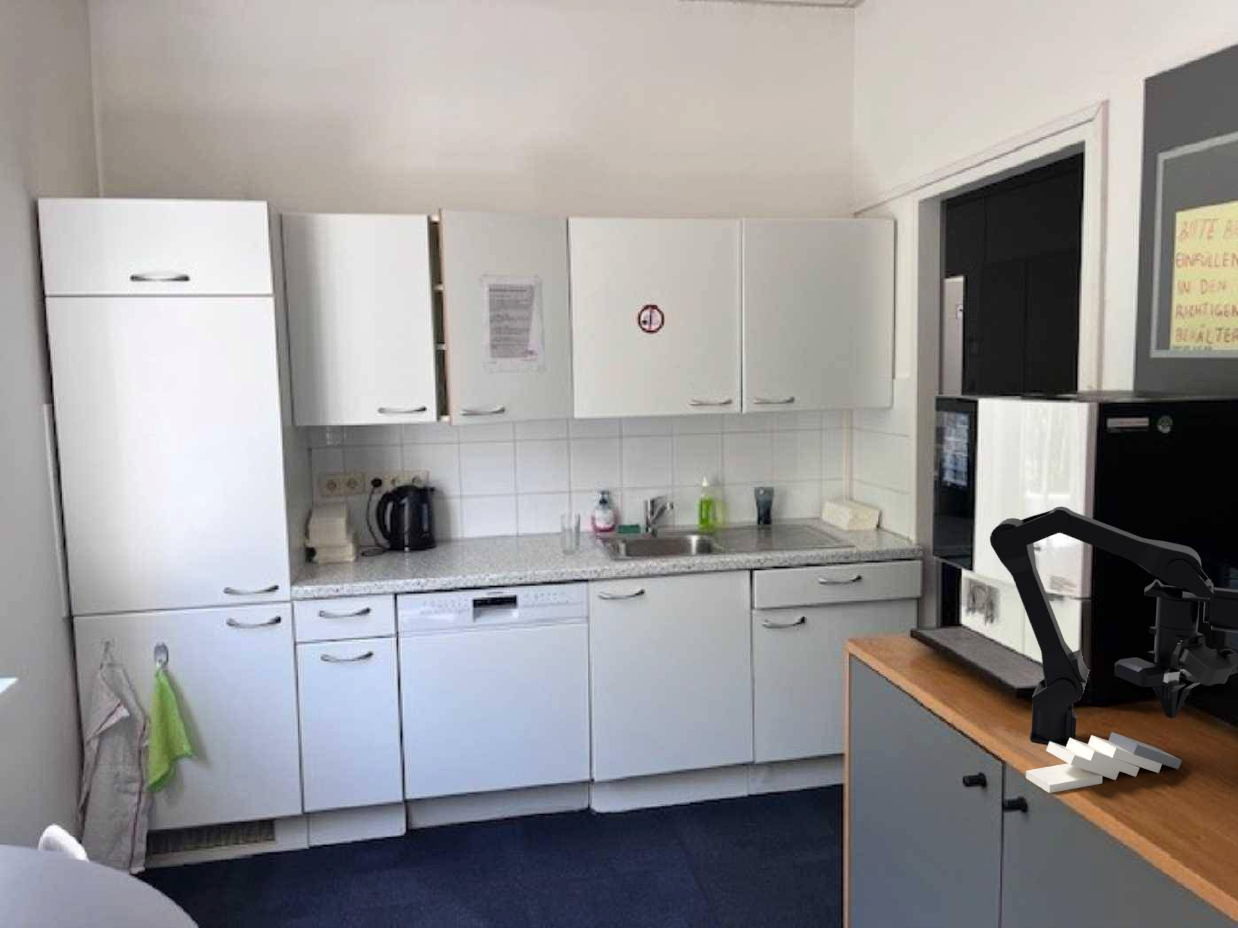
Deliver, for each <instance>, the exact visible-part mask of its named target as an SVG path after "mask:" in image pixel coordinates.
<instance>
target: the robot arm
mask: <svg viewBox="0 0 1238 928" xmlns="http://www.w3.org/2000/svg"><path fill="white" fill-rule="evenodd" d="M990 533H991V534H990V536H989V541H990V542H989V543H990V546H991V548H992V549H993V551H994V553H995V554H996V556H997V558H998V559H999V561H1000V562H1001V564H1002V565H1003V566H1004V568H1006V570H1007V571H1008V572H1009V573H1010V576H1011V577H1012V579H1013V581H1014V584H1015V587H1016V590H1017V593H1018V594H1019V598H1020V600H1021V602H1022V606H1023V608H1024V610H1025V614H1026V615H1027V618H1028V621H1029V624H1030V626H1031V629H1032V632H1033V633H1034V637H1035V639H1036V642H1037V644H1038V647H1039V650H1040V654H1041V662H1042V673H1043V677H1044V678H1042V680H1040V681H1039V682H1038V683H1037V685H1036V688H1035V690H1034V692H1033V694H1032V695H1031V696H1032V697H1031V702H1032V705H1031V729H1030V733H1029V734H1030V735H1029V741H1031V742H1035V743H1041V744H1045V745H1046V744H1047V745H1048V744H1049V742H1053V743H1056V744H1059V745H1062V746H1064V747H1066V745H1067V743H1068V741H1069V738H1072V739H1075V740H1076V735H1077V713H1076V712H1074V703H1077V702H1078V701H1079V700H1080V699H1081V697H1082V695H1083V693H1084V690H1085V686H1086V683H1087V677H1088V674H1089V671H1090V670H1089V669H1088V668H1087V667H1086V665H1085V663H1084V661H1083V656H1082V650H1081V649H1077V650H1075V651H1073V650H1072V649H1071V648H1070V646H1069V645H1068V644H1067V643H1066V640H1065V638H1064V637H1063V634H1062V631H1061V628H1060V626H1059V623H1058V621H1057V618H1056V615H1055V612H1054V610H1053V607H1052V605H1051V602H1050V599H1049V597H1048V594H1047V592H1046V590H1045V587H1044V584H1043V582H1042V579H1041V576H1040V574H1039V571H1038V569H1037V565H1036V555H1035V546H1034V543H1037V542H1039V541H1041V540H1042V541H1043V540H1045V539H1046V538H1049V537H1052V536H1054V535H1057V534H1062V535H1065V536H1067V537H1070V538H1073V539H1074V540H1078V541H1080V542H1083V543H1085V544H1088V545H1089V546H1092V547H1096V548H1098V549H1101V550H1103V551H1106V552H1109V553H1111V554H1113V555H1115V556H1118V557H1121V558H1123V559H1126V560H1127V561H1128V560H1129V561H1131V562H1133V563H1134V564H1136V565H1138V566H1139V567H1141V568H1142V569H1144V570H1145V571H1147V573H1149V574H1150V575H1152V576H1154V577H1156V579H1154V581H1153V582H1152V583H1151V584H1149V585H1147V586H1145V588H1144V596H1147V597H1155V598H1156V613H1155V615H1156V616H1155V626H1150V627H1148V633H1149V634H1150V635H1153V636H1154V649H1153V650H1149V651H1147V658H1148V659H1150V660H1153V661H1154V662H1149V661H1147V660H1146V659H1145V660H1144V659H1142V658H1140V657H1138V656H1136V657H1135V656H1134V657H1127V658H1119V660H1118V661H1116V662H1115V663H1114V676H1115V677H1117V678H1120V679H1122V680H1124V681H1127V682H1130V683H1132V684H1134V685H1136V686H1139V687H1142V688H1150V687H1151V688H1152V689H1153V691H1154V694H1155V695H1156V697H1157V700H1158V702H1159V704H1160V706H1161V708H1162V710H1163V712H1164V714H1165V716H1166V717H1167V718H1169V719H1176V718H1177V716H1178V714H1179V713H1180V710H1181V708H1182V706H1183V704H1184V702H1185V700H1186V698H1187V696H1188V695H1189V692H1190V691H1191V690H1192V689H1193V688H1194V687H1196V686H1199V685H1200V684H1202V685H1203V686H1208V687H1211V686H1213V685H1216V684H1221V685H1223V684H1226V682H1227V680H1228V678H1229V676H1231V675H1232V676H1233V675H1234V674H1237V673H1238V652H1236V651H1235V650H1233V648H1223V649H1220V650H1219V651H1218V649H1216V648H1210V647H1207V645H1206V637H1205V634H1202V633H1201V632H1198V627H1199V615H1200V614H1199V613H1200V611H1199V610H1200V602H1201V603H1203V604H1204V605H1203V623H1207V625H1208V626H1209V627H1210V628H1211V630H1212V631H1219V632H1220V631H1221V632H1226V633H1227V632H1229V633H1237V634H1238V589H1233V588H1225V587H1224V588H1223V587H1214V583H1213V582H1212V579H1210V578H1209V577H1208V576H1207V574H1206V573H1205V572H1204V570H1203V569H1202V561H1201V557H1200V556H1199V554H1198V552H1197V551H1196V550H1194V549H1193V548H1192V547H1190V546H1187V545H1183V544H1179V543H1174V542H1169V541H1164V540H1157V539H1149V538H1144V537H1141V536H1138V535H1135V534H1133V533H1131V532H1129V531H1126V530H1122V529H1119V528H1117V527H1115V526H1112V525H1109V524H1106V523H1104V522H1102V521H1099V520H1096V519H1093V518H1091V517H1090V516H1089V517H1088V516H1087V515H1083V514H1080V513H1078V512H1075V511H1073V510H1071V509H1070V508H1068V507H1066V506H1057V507H1054V508H1052V509H1050V510H1048V511H1044V512H1041V513H1038V514H1034V515H1031V516H1028V517H1025V518H1023V519H1019V518H1016V517H1015V518H1014V517H1011V518H1006V519H1004V520H1002V521H1001V522H999V524H998V525H997V526H995V527H994V529H992V531H991V532H990ZM1160 580H1161V581H1162V582H1164V583H1166V584H1168V585H1165V584H1163V583H1162V582H1161V581H1160ZM1184 589H1185V590H1187V591H1183V590H1184Z"/></svg>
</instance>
